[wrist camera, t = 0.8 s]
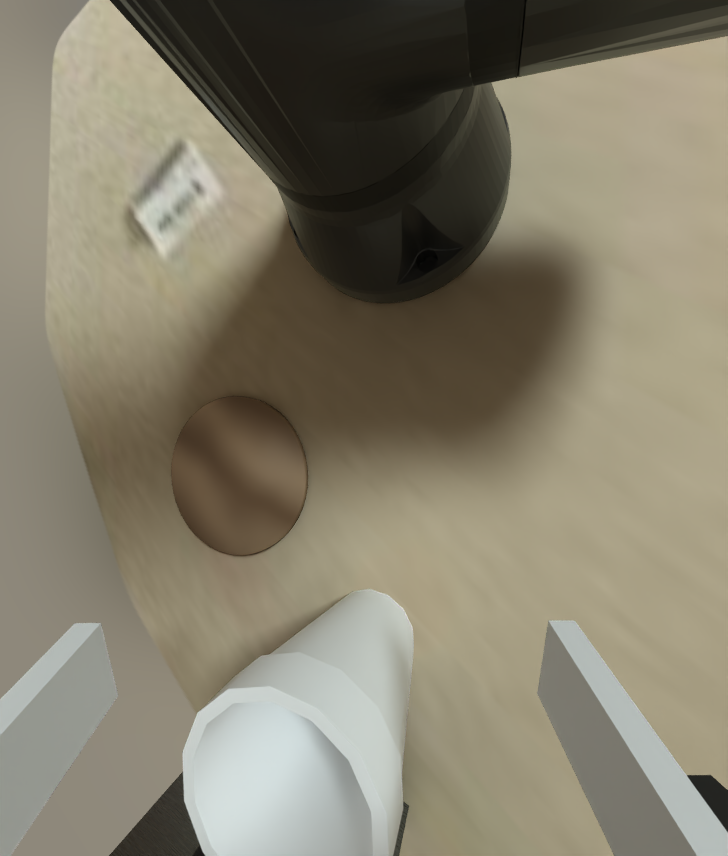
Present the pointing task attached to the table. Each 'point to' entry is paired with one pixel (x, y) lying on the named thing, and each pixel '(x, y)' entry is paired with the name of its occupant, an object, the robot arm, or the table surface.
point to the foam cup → (308, 741)
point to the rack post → (180, 829)
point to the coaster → (239, 475)
